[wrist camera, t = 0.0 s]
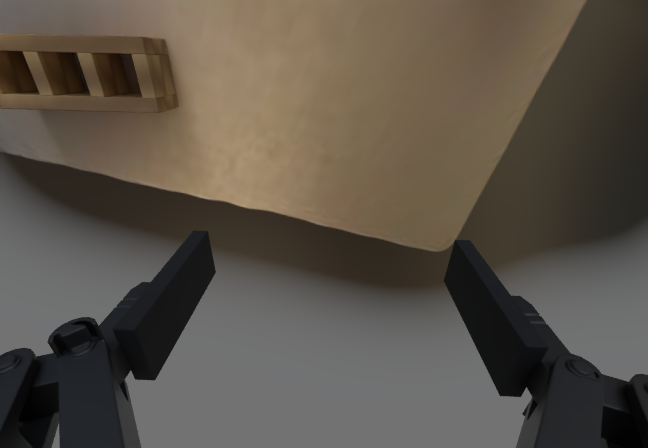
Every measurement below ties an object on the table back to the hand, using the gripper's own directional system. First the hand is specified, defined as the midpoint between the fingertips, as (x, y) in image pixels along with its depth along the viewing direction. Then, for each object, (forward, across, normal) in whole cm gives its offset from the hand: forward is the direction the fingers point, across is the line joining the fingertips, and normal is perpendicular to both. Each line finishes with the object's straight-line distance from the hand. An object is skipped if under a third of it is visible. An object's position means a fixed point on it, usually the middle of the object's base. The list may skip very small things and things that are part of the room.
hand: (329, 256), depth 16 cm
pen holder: (+28, -30, +7) cm, 42 cm away
